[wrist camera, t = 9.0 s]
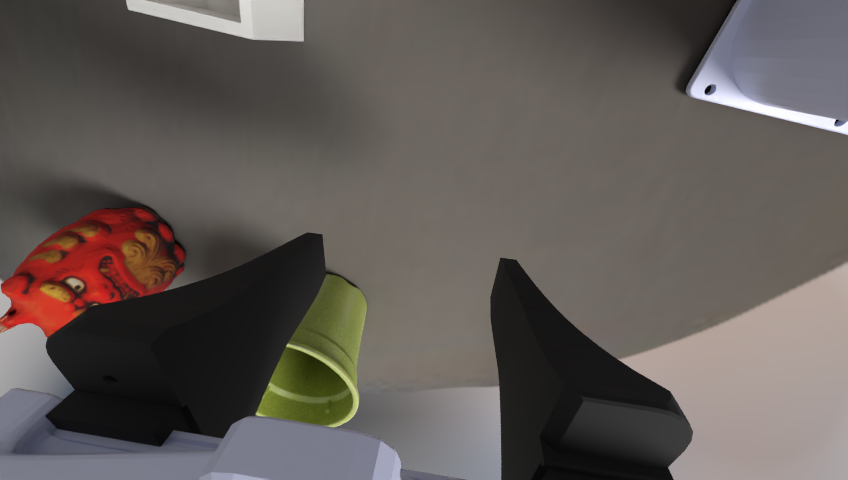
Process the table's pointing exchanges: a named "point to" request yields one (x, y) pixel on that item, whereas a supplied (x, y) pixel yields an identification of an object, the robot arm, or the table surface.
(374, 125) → the table surface
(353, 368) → the plant pot
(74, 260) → the red clay folk toy
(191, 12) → the white square open box
